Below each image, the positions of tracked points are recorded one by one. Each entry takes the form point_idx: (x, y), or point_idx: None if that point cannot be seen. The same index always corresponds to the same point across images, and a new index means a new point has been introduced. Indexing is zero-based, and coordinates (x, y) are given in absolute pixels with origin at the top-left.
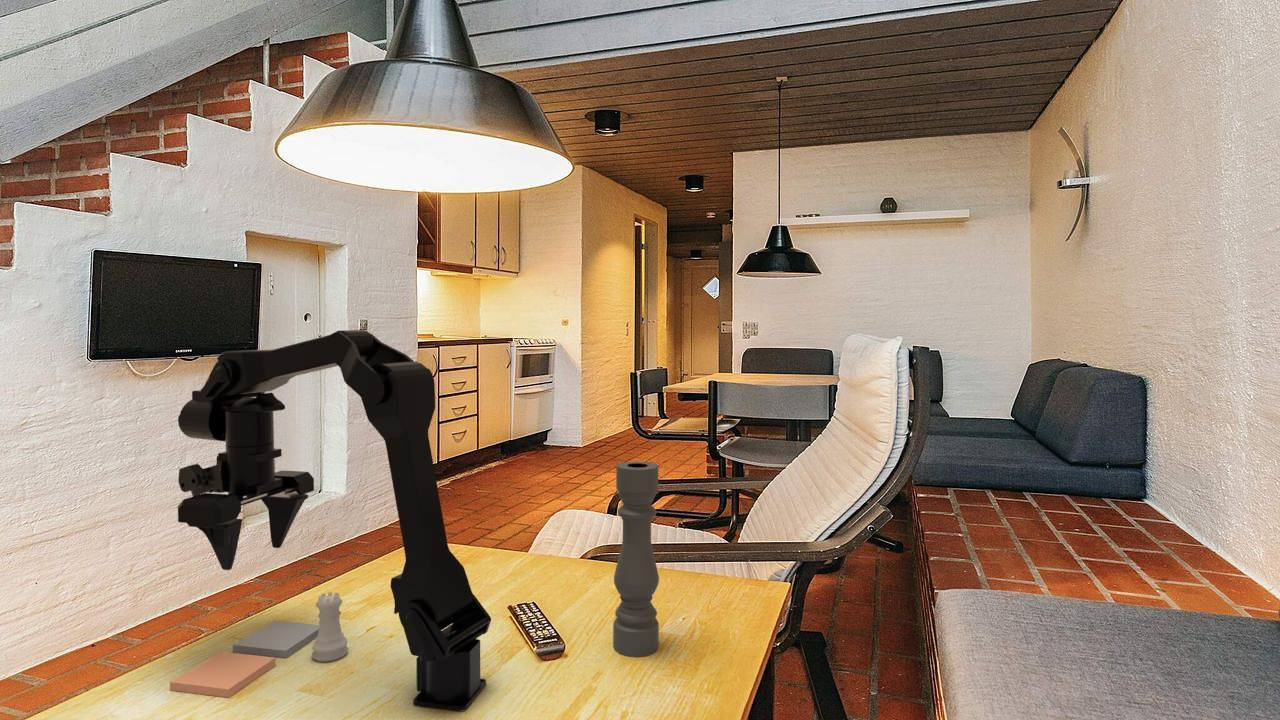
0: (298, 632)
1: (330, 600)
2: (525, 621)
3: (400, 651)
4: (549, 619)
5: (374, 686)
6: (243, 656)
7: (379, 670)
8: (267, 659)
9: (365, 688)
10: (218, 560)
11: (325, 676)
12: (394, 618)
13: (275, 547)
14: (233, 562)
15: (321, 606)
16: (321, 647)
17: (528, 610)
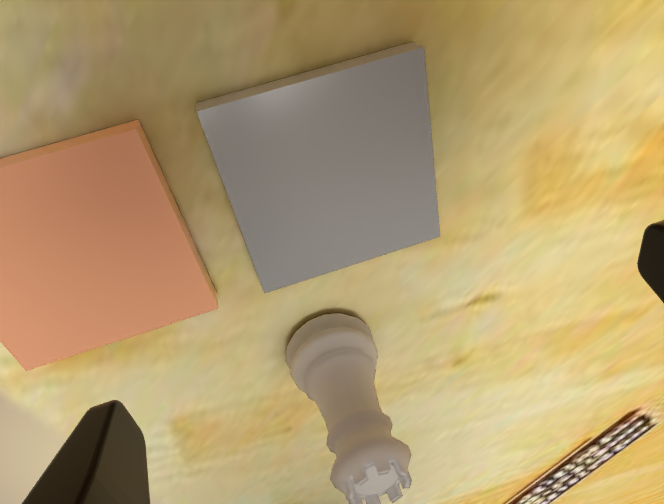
0: (372, 217)
1: (364, 494)
2: (570, 465)
3: (401, 422)
4: (582, 480)
5: (266, 487)
6: (165, 230)
7: (319, 452)
8: (198, 301)
9: (252, 484)
10: (37, 482)
11: (246, 410)
12: (549, 296)
13: (641, 249)
14: (149, 498)
15: (334, 483)
16: (299, 385)
17: (616, 442)
